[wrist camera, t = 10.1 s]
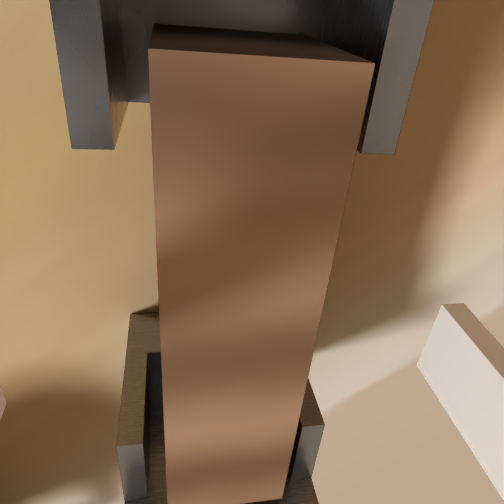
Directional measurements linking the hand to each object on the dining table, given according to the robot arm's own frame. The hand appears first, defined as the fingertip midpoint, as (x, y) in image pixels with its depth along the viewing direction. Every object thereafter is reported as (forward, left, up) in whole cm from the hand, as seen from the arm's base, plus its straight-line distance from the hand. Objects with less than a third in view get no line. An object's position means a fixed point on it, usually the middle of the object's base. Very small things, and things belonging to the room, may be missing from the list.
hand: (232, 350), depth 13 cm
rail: (+1, 0, -7) cm, 7 cm away
